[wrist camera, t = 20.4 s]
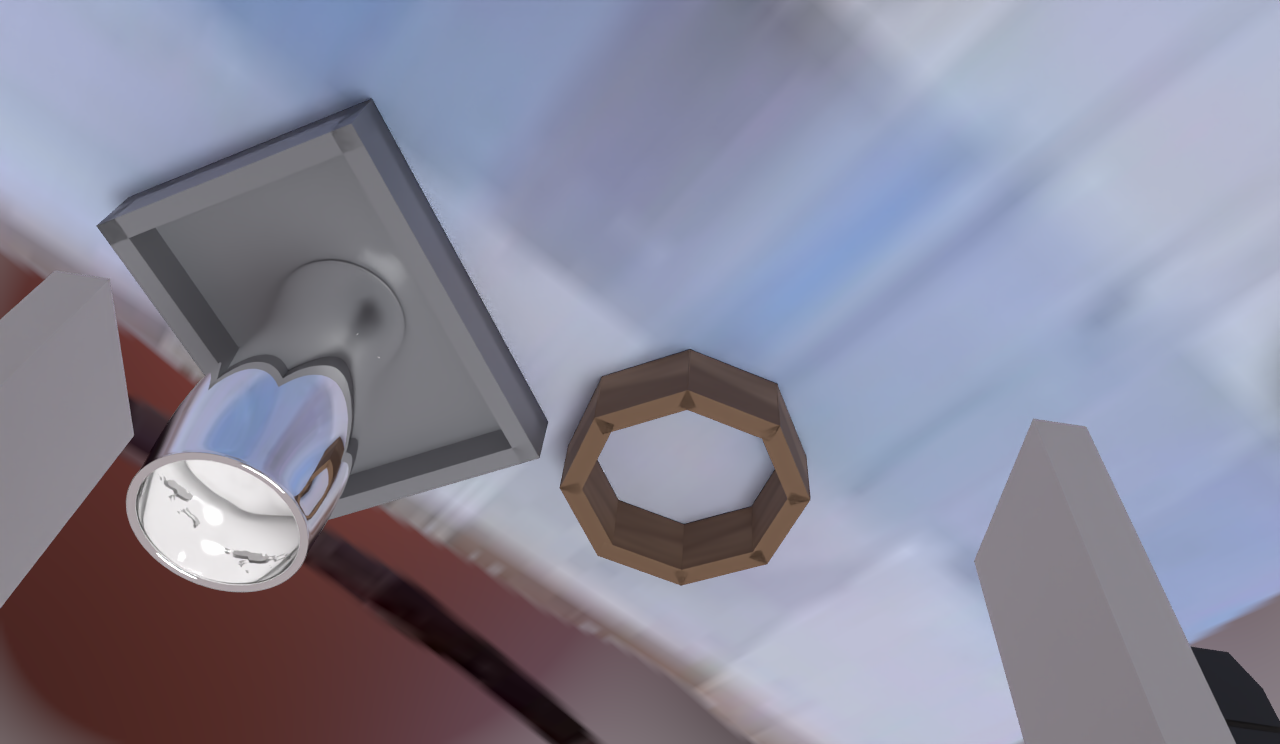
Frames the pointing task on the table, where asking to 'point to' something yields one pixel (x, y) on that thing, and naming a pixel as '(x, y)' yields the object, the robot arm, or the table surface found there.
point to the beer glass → (269, 435)
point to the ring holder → (659, 539)
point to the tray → (350, 232)
